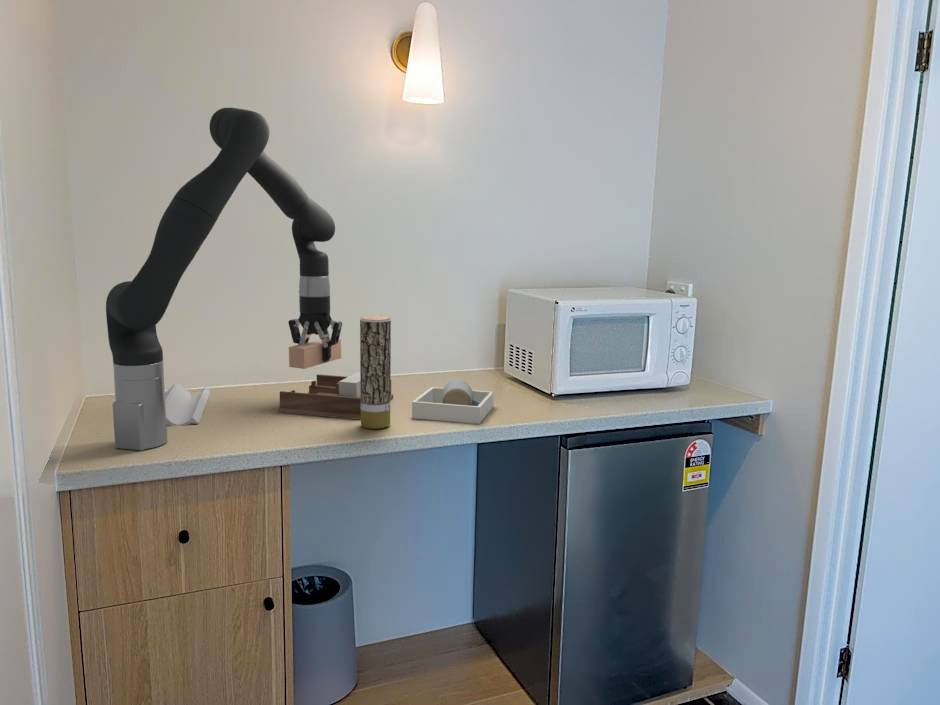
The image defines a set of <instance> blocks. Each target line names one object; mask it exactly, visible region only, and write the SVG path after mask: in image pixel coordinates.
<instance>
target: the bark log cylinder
mask: <svg viewBox="0 0 940 705" xmlns="http://www.w3.org/2000/svg"><path fill="white" fill-rule="evenodd" d="M391 325H392V321H391V317H390V316H385V315H384V316H383V315H371V316H370V315H368V316H367V315H365V316H361V317H360V319H359V340H360V341H359V345H360V346H359V347H360V348H359V350H360V351H359V354H360V355H359V357H360V358H359V363H360V366H359V367H360V368H359V369H360V370H359V371H360V401H361V402H360V405H361V419H360V425H361V426H362V428H365V429H370V430H381V429H386V428H388V427H389V426H390V424H391V394H392V379H391V375H392V374H391V372H392V371H391V369H392V368H391V363H392V357H391V354H392V350H391V348H392V347H391V346H392V344H391V343H392V336H391V335H392V332H391V330H392V326H391Z"/></svg>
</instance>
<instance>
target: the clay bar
mask: <svg viewBox="0 0 940 705" xmlns="http://www.w3.org/2000/svg"><path fill="white" fill-rule="evenodd" d="M330 340H331V337H330ZM323 348H324V346H323V343H322V340H321V339H320V338H319V339H317V340H316V339H315V340H313V341H308V343H303V344H295V345H291V346H289V347H288V367H289V368H295V369H303V370H304V369H309V368H313V367H316V366H319V365H323V364H325V363H329V362H333V361H336V360H340V359H342V339H341V338H339V341H338V343H337V344H335V345H332V346H331V359H329V361H328V362H323Z"/></svg>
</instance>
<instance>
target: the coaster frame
mask: <svg viewBox="0 0 940 705" xmlns="http://www.w3.org/2000/svg"><path fill="white" fill-rule="evenodd" d="M443 389H444V387H436V386H435V387H434V386H431V387H429V388H428V389H427V390H426V391H424V392H423V393H422V394H421V395H419V396H418V397H417V398H416V399H414V400H413V401H411V419H417V420H418V419H419V420H430V421H432V420H433V421H440V420H441V421H442V422H451V421H454V422H455V423H463V422H469V423H468V424H475V423H478V425H480V424H482V422H483V420H484V419H485V418H486V417H487V415H488V414H490V412H491V411H492V409H494V404H495V402H494V401H495V400H494V399H495V398H494V397H495V392H494V391H488V390H487V391H486V390H475V389H474V390H473V389H472V392H473V399H474V400H476V401H478V402H479V403H480V404H479V405H478V406H467V405H455V404H443V403H442V395H443ZM481 421H482V422H481Z"/></svg>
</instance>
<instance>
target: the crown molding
mask: <svg viewBox="0 0 940 705" xmlns="http://www.w3.org/2000/svg"><path fill="white" fill-rule="evenodd" d="M190 392H191V391H189V390H187V388H185V387H184V385H182V384H181V383H179V382H176V383H174V384H173V385H171V387H170V388H168V390H166V391H165V407H166V425H167V426H168V425H178V426H190V425H193V424H194V425H196V424H197V425H199V423H200V421H201V419H202V415H203V413H204V411H205V408H206V405H207V401H208V399H209V397H210V394H211V390H210V389H208V388H207V387H206V386H205V387H203V388H202V389H201V390H199V391H197V393H196V392H195V393H196V395H195V396H194V397H193V398H191V393H190Z"/></svg>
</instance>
